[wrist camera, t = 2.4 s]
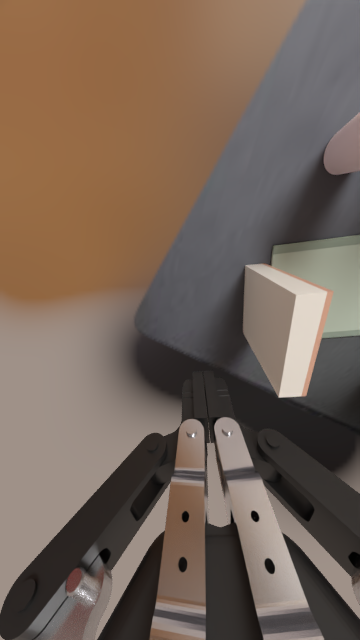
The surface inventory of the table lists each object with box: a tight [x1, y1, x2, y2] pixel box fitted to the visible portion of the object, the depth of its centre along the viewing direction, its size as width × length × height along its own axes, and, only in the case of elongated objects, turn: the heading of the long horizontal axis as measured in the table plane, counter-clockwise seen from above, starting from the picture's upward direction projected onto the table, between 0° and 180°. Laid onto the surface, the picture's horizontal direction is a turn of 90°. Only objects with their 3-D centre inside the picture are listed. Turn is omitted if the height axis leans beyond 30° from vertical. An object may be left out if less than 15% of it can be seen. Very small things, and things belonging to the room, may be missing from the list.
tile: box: [243, 263, 334, 397], centre depth 20 cm, size 2×10×12 cm, turn 7°
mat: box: [271, 235, 360, 338], centre depth 24 cm, size 16×14×1 cm
